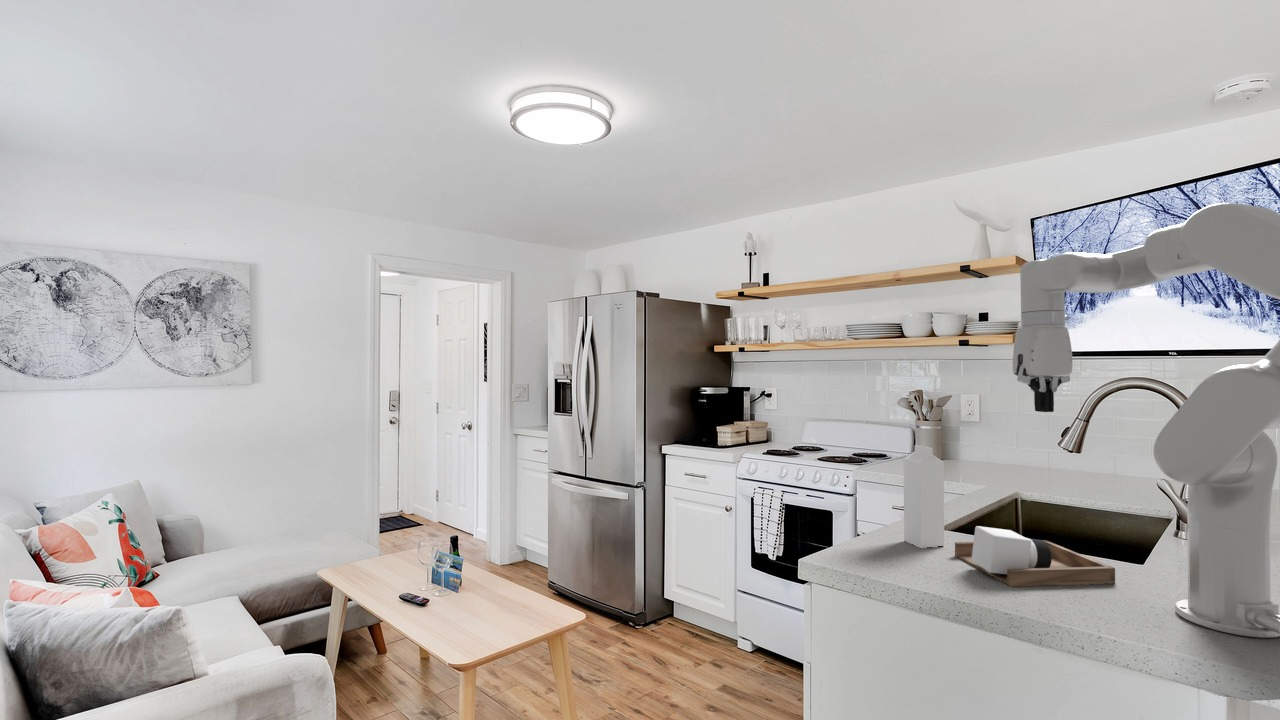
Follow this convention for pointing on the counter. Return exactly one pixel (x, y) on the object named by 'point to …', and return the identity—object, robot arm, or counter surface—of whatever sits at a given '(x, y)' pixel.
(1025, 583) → the walnut tray
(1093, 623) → the counter surface
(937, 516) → the milk
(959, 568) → the counter surface
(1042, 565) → the medicine bottle
